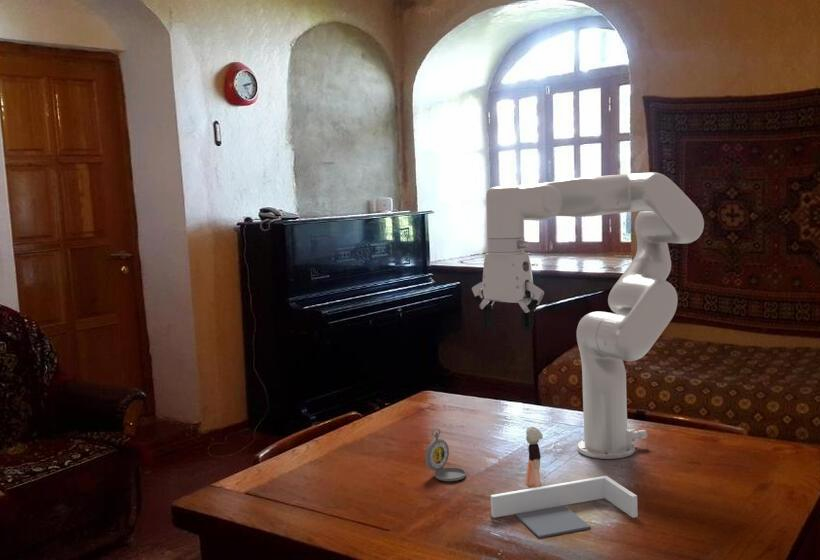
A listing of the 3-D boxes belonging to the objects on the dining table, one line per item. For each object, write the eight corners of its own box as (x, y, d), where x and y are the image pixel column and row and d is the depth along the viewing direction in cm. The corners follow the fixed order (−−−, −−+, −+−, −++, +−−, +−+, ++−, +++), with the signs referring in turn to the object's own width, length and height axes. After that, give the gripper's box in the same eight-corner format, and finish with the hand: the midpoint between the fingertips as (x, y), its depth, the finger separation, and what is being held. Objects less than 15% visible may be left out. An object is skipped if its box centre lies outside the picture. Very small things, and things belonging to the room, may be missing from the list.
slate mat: (564, 507, 151) (564, 505, 151) (590, 528, 142) (590, 526, 142) (515, 516, 149) (515, 514, 148) (538, 538, 139) (538, 535, 139)
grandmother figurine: (521, 482, 165) (518, 422, 164) (539, 480, 165) (537, 420, 164) (530, 496, 158) (527, 433, 156) (549, 494, 158) (547, 432, 156)
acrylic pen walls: (606, 495, 156) (606, 475, 155) (637, 516, 145) (637, 495, 145) (491, 515, 149) (490, 495, 149) (515, 539, 139) (514, 517, 138)
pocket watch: (464, 483, 166) (461, 436, 165) (424, 482, 168) (421, 436, 167) (469, 469, 174) (466, 424, 173) (430, 468, 176) (428, 424, 175)
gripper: (551, 246, 162) (553, 329, 163) (482, 244, 173) (484, 323, 175) (531, 249, 156) (533, 335, 158) (461, 247, 168) (463, 328, 169)
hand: (507, 329), depth 166 cm, fingers open, 9 cm apart
